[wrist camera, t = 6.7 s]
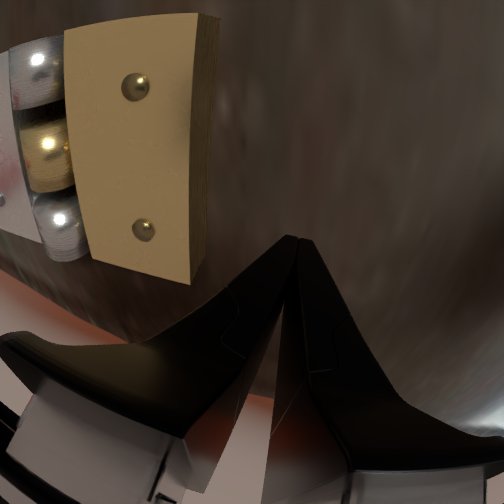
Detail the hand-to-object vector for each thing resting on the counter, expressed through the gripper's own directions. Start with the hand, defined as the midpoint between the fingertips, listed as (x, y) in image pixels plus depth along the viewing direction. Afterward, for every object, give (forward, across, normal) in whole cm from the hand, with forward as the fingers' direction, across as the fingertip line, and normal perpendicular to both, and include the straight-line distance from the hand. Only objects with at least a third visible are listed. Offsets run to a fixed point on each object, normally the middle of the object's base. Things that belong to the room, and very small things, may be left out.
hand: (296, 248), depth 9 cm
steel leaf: (+6, +17, 0) cm, 18 cm away
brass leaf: (+6, +10, 0) cm, 12 cm away
